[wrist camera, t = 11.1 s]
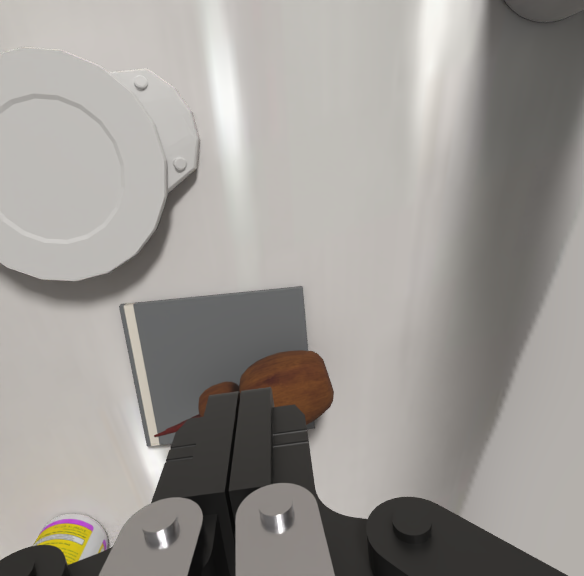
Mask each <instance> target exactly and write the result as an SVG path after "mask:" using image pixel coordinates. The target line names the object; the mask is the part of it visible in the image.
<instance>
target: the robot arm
mask: <svg viewBox="0 0 584 576" xmlns="http://www.w3.org/2000/svg"><path fill="white" fill-rule="evenodd" d="M504 1H505V2H506V3H507V4H508V6H509V7H510V8H511V9H512V10H513V11H515V12H516V13H517V14H518V15H520V16H521V17H524V18H526V19H529V20H531V21H536V22H543V23H544V22H554V21H558V20H561V19H564V18H567V17H569V16H571V15H574V14H576V13H578V12H580V11H582V10H584V0H504ZM0 576H568V575H566V574H564V573H562V572H560V571H558V570H557V569H555V568H553V567H551V566H549V565H547V564H546V563H544V562H542V561H540V560H538V559H536V558H534V557H532V556H531V555H529V554H527V553H525V552H523V551H522V550H520V549H518V548H516V547H514V546H513V545H511V544H509V543H507V542H505V541H503V540H502V539H500V538H498V537H496V536H494V535H493V534H491V533H489V532H487V531H485V530H483V529H481V528H480V527H478V526H476V525H474V524H472V523H471V522H469V521H467V520H465V519H463V518H462V517H460V516H458V515H456V514H454V513H452V512H451V511H449V510H447V509H445V508H443V507H441V506H440V505H438V504H436V503H433V502H431V501H429V500H425V499H422V498H417V497H399V498H394V499H391V500H388V501H386V502H384V503H382V504H380V505H379V506H377V507H376V508H375V509H374V510H373V511H372V513H371V514H370V516H369V518H368V519H362V518H354V517H349V516H345V515H341V514H338V513H336V512H334V511H332V510H331V509H329V508H328V507H326V506H325V505H324V504H323V503H322V502H321V501H320V499H319V498H318V496H317V494H316V490H315V485H314V477H313V470H312V463H311V456H310V448H309V441H308V434H307V427H306V419H305V415H304V414H303V413H302V412H301V411H300V409H299V408H298V407H297V406H296V405H295V404H294V405H287V406H279V407H274V400H273V394H272V389H271V387H267V388H259V389H252V390H244V391H241V393H240V392H239V391H237V392H230V393H222V394H215V395H209V397H208V401H207V405H206V409H205V412H204V416H203V417H198V418H190V419H188V420H187V421H186V422H185V423H184V424H183V425H182V426H181V427H180V428H179V429H178V431H177V432H176V433H175V436H174V439H173V442H172V445H171V450H169V453H168V456H167V459H166V463H165V465H164V468H163V470H162V473H161V476H160V479H159V482H158V485H157V488H156V491H155V493H154V496H153V499H152V502H151V504H149V505H147V506H145V507H143V508H142V509H140V510H139V511H138V512H136V513H135V514H134V515H133V516H132V517H131V518H130V519H129V520H128V521H127V522H126V523H125V524H124V526H123V528H122V529H121V531H120V533H119V535H118V537H117V539H116V541H115V543H114V545H113V547H111V548H109V549H107V550H105V551H103V552H100V553H98V554H95V555H93V556H90V557H87V558H85V559H82V560H80V561H77V562H74V563H72V564H69V565H68V564H67V561H66V558H65V555H64V553H63V552H62V551H61V550H60V549H59V548H57V547H56V546H52V545H36V546H32V547H28V548H25V549H22V550H19V551H17V552H15V553H12V554H11V555H9V556H7V557H5V558H3V559H2V560H0Z"/></svg>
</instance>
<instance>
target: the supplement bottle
mask: <svg viewBox="0 0 584 576" xmlns="http://www.w3.org/2000/svg"><path fill="white" fill-rule="evenodd" d="M36 545H52V546H56V547H57V548H59V549H60V550H61V551H62V552H63V553H64V555H65V558H66V561H67V564H68V565H69V564H72V563H74V562H77V561H80V560H82V559H85V558H87V557H90V556H93V555H95V554H98V553H100V552H103V551H105V550H107V546H108V538H107V535H106V532H105V530H104V529H103V527H102V526H101V525H100V524H99V523H98V522H97V521H96V520H94V519H92V518H91V517H88V516H86V515H82V514H64V515H61V516H58V517H56V518H54V519H53V520H51V521H50V522H49V523H48V524H47V525H46V526H45V527H44V528H43V530H42V531H41V533H40V534H39V536H38V538H37V539H36V541H35V543H34V544H33V546H36Z"/></svg>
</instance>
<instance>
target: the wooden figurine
mask: <svg viewBox="0 0 584 576" xmlns="http://www.w3.org/2000/svg"><path fill="white" fill-rule="evenodd" d="M267 387H271V389H272V394H273V400H274V407H279V406H287V405H294V404H295V405H296V406H297V407H298V408H299V409H300V411H301V412H302V413H303V414H304V415H305V419H306V425H307V424H309V423H311V422H312V421H314V420H315V419H317V418H318V417H319V416H320V415H322V414H323V413H324V412H325V411H326V410H327V409H328V408H329V407H330V406H331V404H332V401H333V394H334V391H333V388H332V385H331V382H330V379H329V376H328V373H327V370H326V367H325V364H324V361H323V359H322V358H321V357H320V356H319V355H318V354H317V353H315V352H313V351H304V350H298V351H286V352H280V353H276V354H273V355H270V356H267V357H265V358H262V359H260V360H258V361H256V362H255V363H254V364H252V365H251V366H249V367H248V368H247V369H246V371H245V372H244V373H243V374H242V375H241V378H240V383H239V386H238V385H237V384H236V383H234V382H222V383H218V384H216V385H213V386H211V387H209V388H208V389H206V390H205V391H204V392H203V393H202V394H201V395H200V397H199V404H198V409H199V414H198V415H196V416H193V417H191V418H198V417H203V416H204V412H205V409H206V405H207V401H208V397H209V395H215V394H222V393H230V392H237V391H239V392H240V393H241V391H244V390H252V389H259V388H267ZM187 420H188V419H187ZM187 420H185V421H183V422H181V423H179V424H177V425H175V426H172V427H170V428H167V429H166V430H165V431H163V432H160V433H158V434H156V435H154V437H159V436H163V435H167V434H171V433H175V432H177V431H178V429H179V428H180V427H181V426H182V425H183V424H184V423H185V422H186V421H187Z"/></svg>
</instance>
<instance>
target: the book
mask: <svg viewBox="0 0 584 576" xmlns="http://www.w3.org/2000/svg"><path fill="white" fill-rule="evenodd" d="M119 308H120V313H121V318H122V323H123V328H124V333H125V338H126V343H127V348H128V353H129V358H130V363H131V368H132V373H133V378H134V383H135V388H136V393H137V398H138V403H139V408H140V413H141V418H142V423H143V428H144V433H145V438H146V443H147V446H156V445H163V444H172V442H173V439H174V436H175V433H176V432H175V433H171V434H167V435H163V436H159V437H154V435H156V434H158V433H160V432H163V431H165V430H166V429H167V428H170V427H172V426H175V425H177V424H179V423H181V422H183V421H185V420H187V419H190V418H191V417H193V416H196V415H198V414H199V409H198V404H199V397H200V395H201V394H202V393H203V392H204V391H205V390H206V389H208V388H209V387H211V386H213V385H216V384H218V383H222V382H234V383H236V384H237V385H238V386H239V383H240V378H241V375H242V374H243V373H244V372H245V371H246V369H247V368H248V367H249V366H251V365H252V364H254V363H255V362H256V361H258V360H260V359H262V358H265V357H267V356H270V355H273V354H276V353H280V352H286V351H298V350H304V351H308V344H307V332H306V321H305V309H304V297H303V287H302V286H299V287H289V288H279V289H269V290H259V291H249V292H239V293H229V294H219V295H209V296H199V297H189V298H179V299H168V300H158V301H148V302H138V303H128V304H121V305H120V306H119ZM306 427H307V429H312V428H315V426H314V421H312V422H311V423H309V424H307V425H306Z"/></svg>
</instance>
